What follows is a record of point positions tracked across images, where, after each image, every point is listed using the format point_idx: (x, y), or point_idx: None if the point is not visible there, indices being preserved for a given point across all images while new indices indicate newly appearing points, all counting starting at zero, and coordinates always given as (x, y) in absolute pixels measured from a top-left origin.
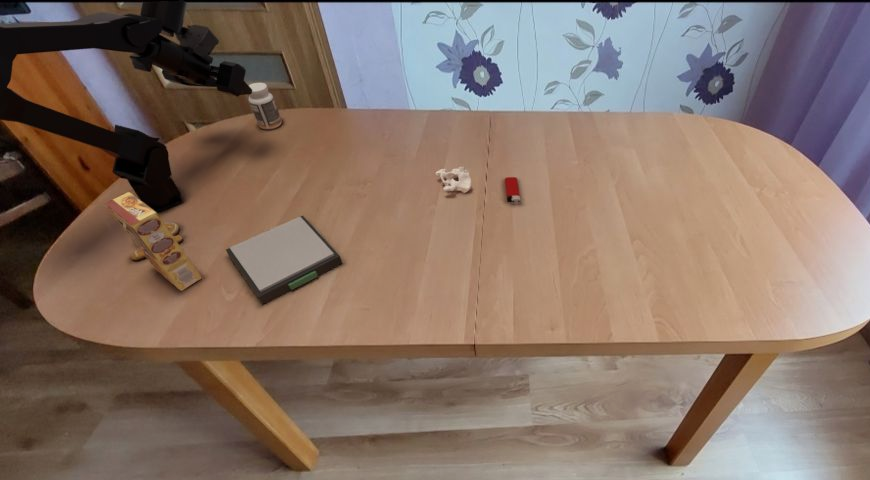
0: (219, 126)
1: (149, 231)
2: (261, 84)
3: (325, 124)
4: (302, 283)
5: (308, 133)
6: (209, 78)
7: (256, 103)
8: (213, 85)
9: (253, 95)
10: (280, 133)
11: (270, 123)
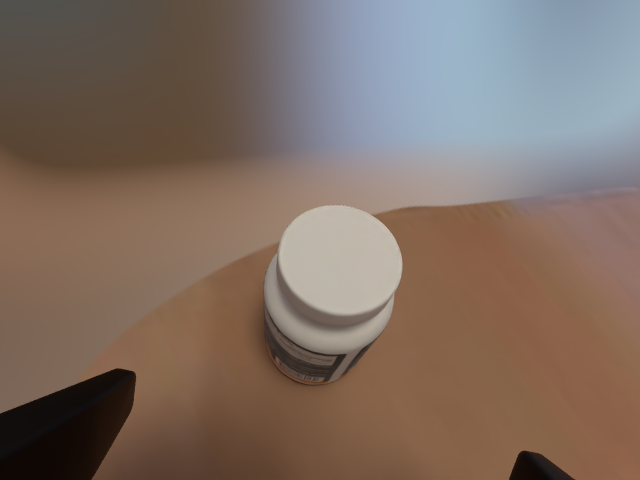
0: None
1: None
2: (354, 224)
3: (510, 298)
4: None
5: (499, 374)
6: (38, 473)
7: (344, 351)
8: (93, 470)
9: (344, 325)
10: (392, 399)
11: (349, 369)
